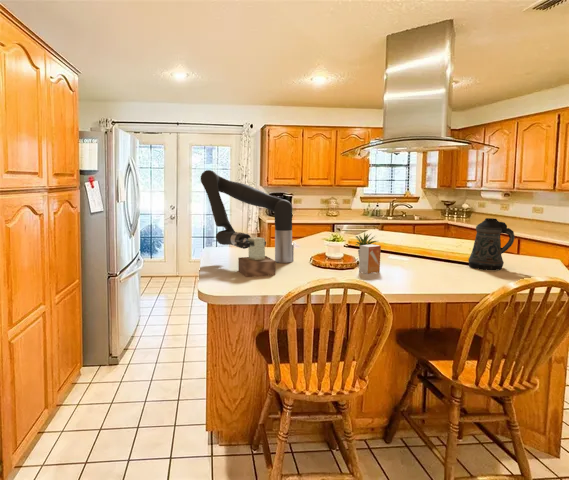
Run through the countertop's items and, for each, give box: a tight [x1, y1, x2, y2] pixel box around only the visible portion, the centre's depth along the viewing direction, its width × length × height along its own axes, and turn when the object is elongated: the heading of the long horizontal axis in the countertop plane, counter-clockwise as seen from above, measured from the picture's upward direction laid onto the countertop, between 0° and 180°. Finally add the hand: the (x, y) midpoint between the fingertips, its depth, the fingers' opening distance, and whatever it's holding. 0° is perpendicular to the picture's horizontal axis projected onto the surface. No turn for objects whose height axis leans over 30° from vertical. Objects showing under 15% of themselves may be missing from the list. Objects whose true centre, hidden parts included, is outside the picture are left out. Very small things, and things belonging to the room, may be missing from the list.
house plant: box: [354, 232, 378, 260], centre depth 242 cm, size 14×14×16 cm
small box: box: [358, 243, 382, 275], centre depth 218 cm, size 8×6×13 cm
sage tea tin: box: [247, 236, 266, 260], centre depth 214 cm, size 6×6×10 cm
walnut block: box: [237, 255, 276, 278], centre depth 215 cm, size 14×14×7 cm
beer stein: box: [467, 217, 516, 271], centre depth 229 cm, size 16×19×25 cm
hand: (257, 244), depth 213 cm, fingers open, 8 cm apart
